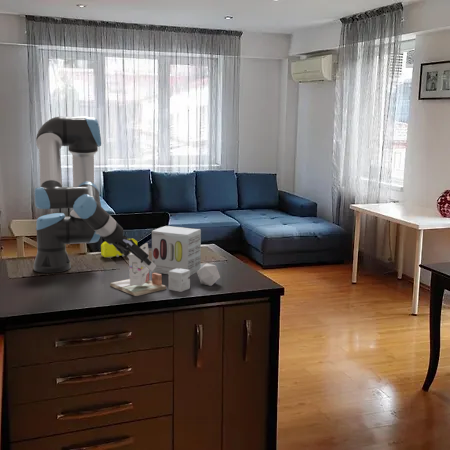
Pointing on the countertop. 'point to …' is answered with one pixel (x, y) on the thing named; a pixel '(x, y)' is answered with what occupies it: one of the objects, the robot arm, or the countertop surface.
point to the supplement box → (176, 249)
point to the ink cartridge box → (138, 268)
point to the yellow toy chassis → (111, 250)
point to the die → (208, 274)
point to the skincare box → (179, 279)
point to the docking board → (140, 290)
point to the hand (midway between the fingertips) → (146, 266)
